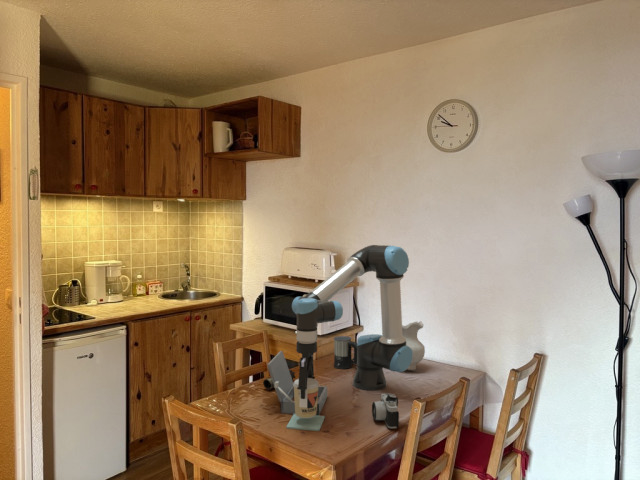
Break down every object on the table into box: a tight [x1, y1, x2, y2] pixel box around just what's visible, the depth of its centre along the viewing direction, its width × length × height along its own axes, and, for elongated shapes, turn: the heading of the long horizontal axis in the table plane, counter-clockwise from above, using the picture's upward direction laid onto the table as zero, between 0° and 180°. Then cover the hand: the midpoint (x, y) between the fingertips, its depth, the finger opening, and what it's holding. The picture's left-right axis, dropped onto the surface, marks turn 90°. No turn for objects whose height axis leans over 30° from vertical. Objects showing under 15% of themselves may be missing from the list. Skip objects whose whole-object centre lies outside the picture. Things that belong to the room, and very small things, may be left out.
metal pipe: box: [262, 369, 296, 390], centre depth 215 cm, size 18×7×6 cm, turn 143°
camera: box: [371, 392, 400, 429], centre depth 177 cm, size 16×9×10 cm, turn 5°
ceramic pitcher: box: [402, 321, 426, 371], centre depth 242 cm, size 22×20×25 cm
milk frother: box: [333, 335, 357, 370], centre depth 246 cm, size 14×16×15 cm
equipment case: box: [266, 350, 328, 416], centre depth 192 cm, size 21×20×19 cm
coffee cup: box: [293, 378, 320, 418], centre depth 174 cm, size 9×9×12 cm
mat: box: [286, 414, 326, 432], centre depth 174 cm, size 12×12×1 cm
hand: (306, 401), depth 174 cm, fingers closed on coffee cup, 9 cm apart
